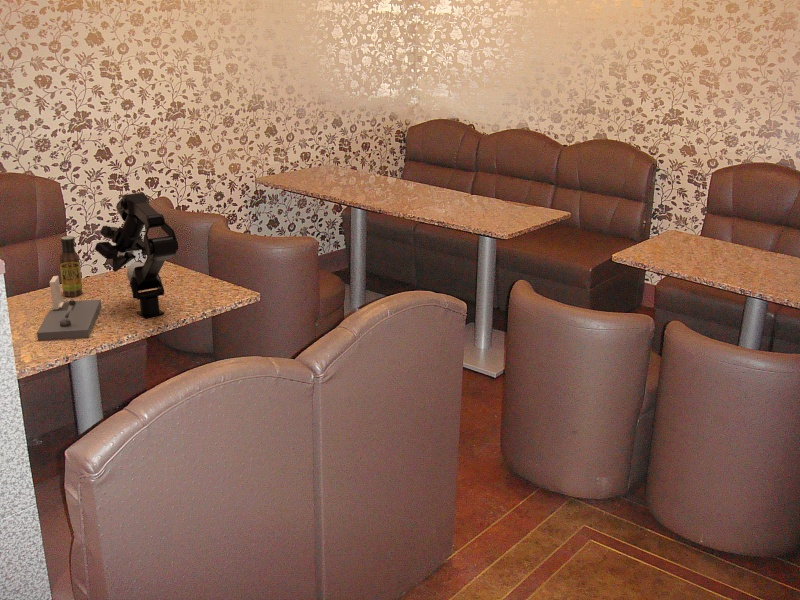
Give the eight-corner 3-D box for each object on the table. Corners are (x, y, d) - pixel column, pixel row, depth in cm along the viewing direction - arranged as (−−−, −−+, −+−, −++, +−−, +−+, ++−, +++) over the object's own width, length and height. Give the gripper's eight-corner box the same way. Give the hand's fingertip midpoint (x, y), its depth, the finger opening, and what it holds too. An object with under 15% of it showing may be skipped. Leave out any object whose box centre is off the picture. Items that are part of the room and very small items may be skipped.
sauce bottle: (63, 298, 264) (55, 240, 257) (63, 292, 269) (55, 235, 262) (83, 296, 266) (76, 239, 259) (83, 290, 271) (76, 234, 264)
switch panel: (101, 306, 257) (100, 296, 256) (88, 337, 233) (87, 326, 232) (55, 309, 254) (54, 298, 253) (37, 340, 230) (36, 328, 229)
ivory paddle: (64, 302, 252) (61, 275, 249) (61, 309, 247) (57, 281, 244) (54, 303, 252) (50, 276, 248) (50, 309, 246) (46, 282, 243)
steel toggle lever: (70, 317, 236) (76, 300, 235) (69, 319, 234) (75, 302, 233) (64, 315, 235) (70, 297, 234) (62, 317, 234) (69, 300, 232)
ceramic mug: (143, 289, 273) (141, 268, 270) (127, 285, 277) (125, 264, 275) (167, 282, 282) (165, 261, 279) (151, 277, 286) (149, 257, 283)
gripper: (136, 215, 259) (119, 255, 265) (91, 216, 243) (74, 259, 248) (159, 233, 256) (141, 273, 261) (116, 236, 239) (98, 279, 245)
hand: (114, 270), depth 254 cm, fingers closed
